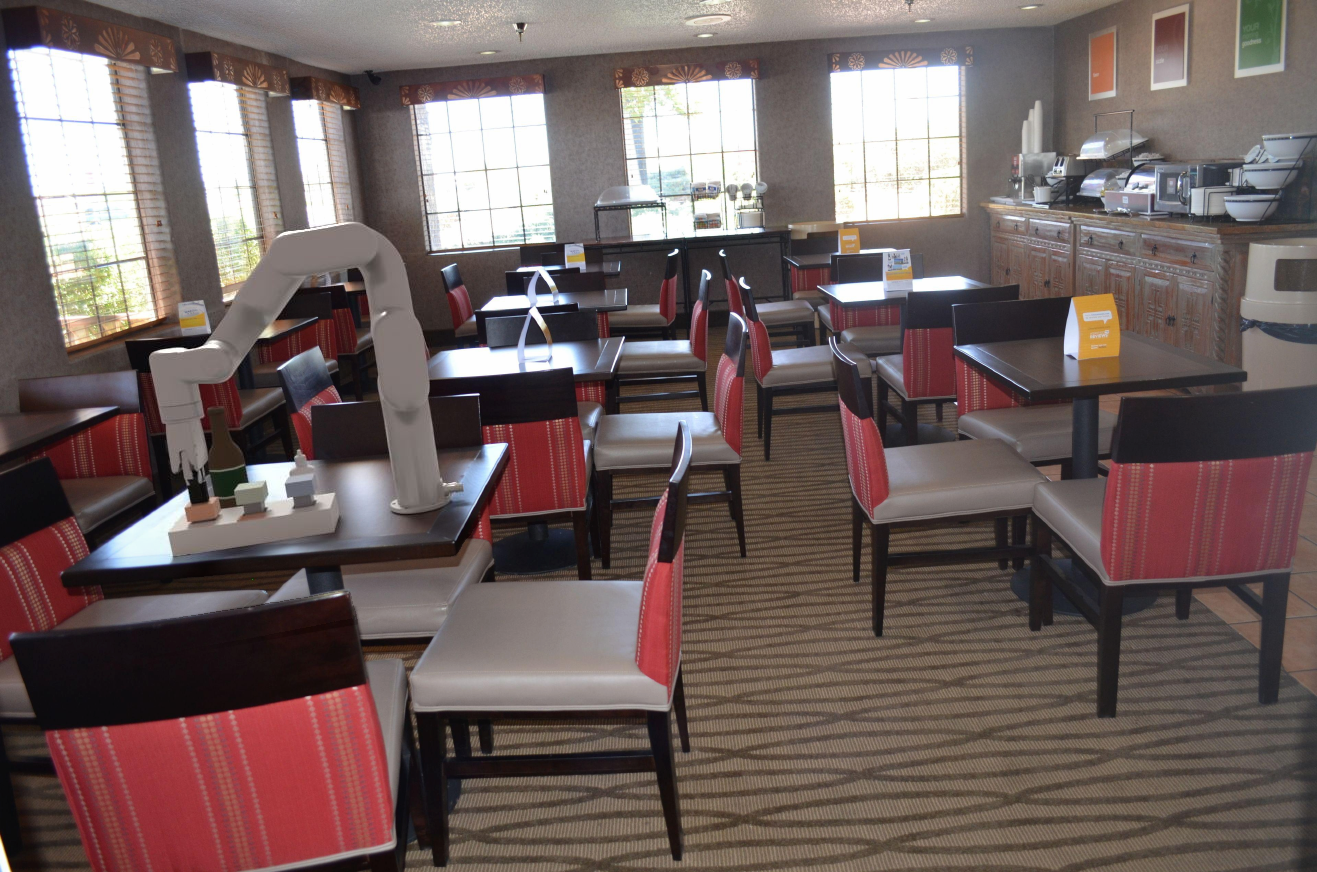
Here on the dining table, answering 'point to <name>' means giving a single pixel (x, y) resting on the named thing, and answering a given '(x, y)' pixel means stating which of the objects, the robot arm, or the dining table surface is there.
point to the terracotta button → (203, 511)
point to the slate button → (301, 490)
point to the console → (255, 526)
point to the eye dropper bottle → (304, 469)
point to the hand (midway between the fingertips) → (200, 502)
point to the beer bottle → (224, 460)
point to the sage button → (252, 497)
